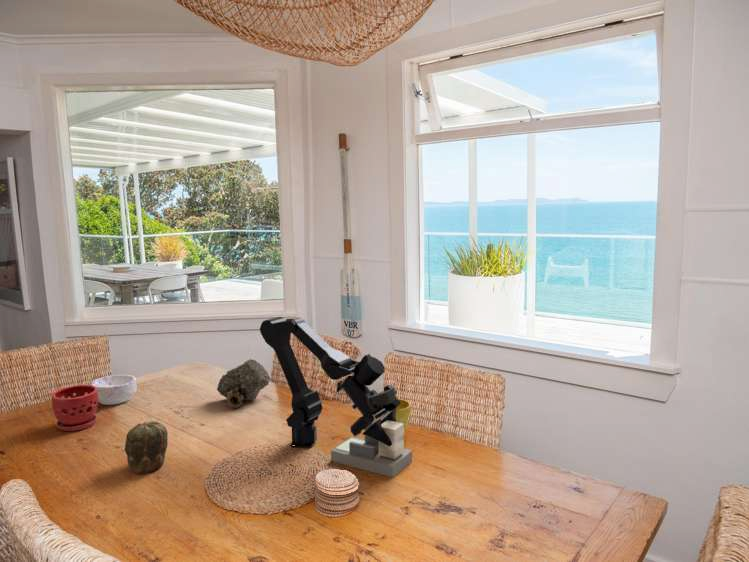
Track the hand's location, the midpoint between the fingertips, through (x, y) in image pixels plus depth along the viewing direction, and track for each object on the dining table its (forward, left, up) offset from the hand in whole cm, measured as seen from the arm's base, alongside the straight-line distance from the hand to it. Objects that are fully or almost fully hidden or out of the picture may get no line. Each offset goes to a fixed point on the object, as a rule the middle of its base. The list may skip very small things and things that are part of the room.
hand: (395, 441), depth 145 cm
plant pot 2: (-3, +22, -7) cm, 23 cm away
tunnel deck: (-7, +3, -7) cm, 10 cm away
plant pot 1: (-106, +15, -7) cm, 107 cm away
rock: (-62, +43, -7) cm, 76 cm away
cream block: (-1, +1, -4) cm, 4 cm away
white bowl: (-109, +39, -7) cm, 116 cm away
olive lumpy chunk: (-67, -8, -7) cm, 68 cm away
